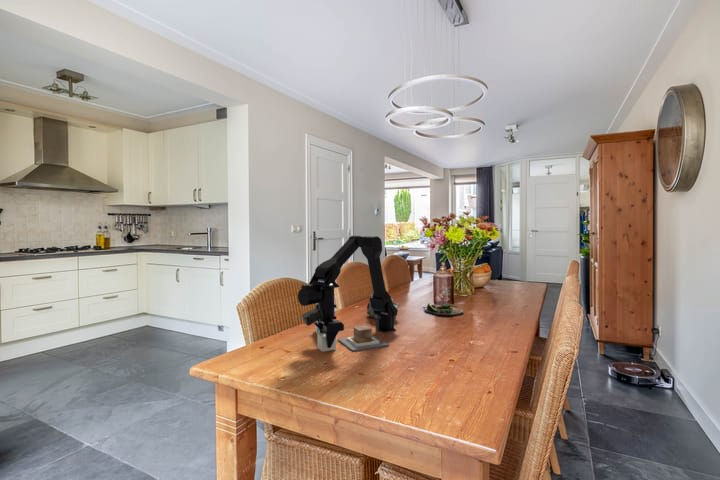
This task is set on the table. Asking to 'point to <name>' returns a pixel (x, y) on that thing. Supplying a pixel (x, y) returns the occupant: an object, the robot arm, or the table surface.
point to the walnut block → (362, 334)
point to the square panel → (362, 344)
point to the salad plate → (442, 310)
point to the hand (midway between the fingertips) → (326, 345)
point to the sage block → (324, 342)
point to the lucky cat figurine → (371, 312)
